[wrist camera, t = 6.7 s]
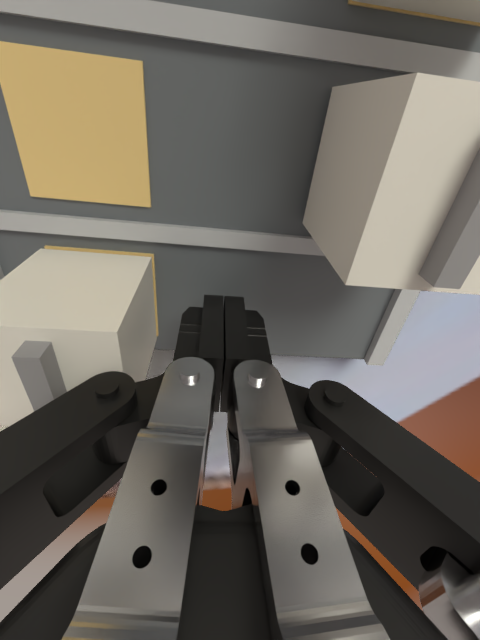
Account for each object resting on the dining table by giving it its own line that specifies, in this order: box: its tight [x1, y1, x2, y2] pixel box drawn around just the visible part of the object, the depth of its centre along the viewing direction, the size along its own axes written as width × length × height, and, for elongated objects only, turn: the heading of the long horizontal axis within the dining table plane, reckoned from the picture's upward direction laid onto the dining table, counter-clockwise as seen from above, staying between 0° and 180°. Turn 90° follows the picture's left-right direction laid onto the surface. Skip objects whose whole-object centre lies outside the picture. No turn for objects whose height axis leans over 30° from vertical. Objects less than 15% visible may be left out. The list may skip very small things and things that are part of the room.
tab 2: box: [303, 73, 480, 295], centre depth 8 cm, size 4×4×5 cm
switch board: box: [0, 0, 480, 365], centre depth 10 cm, size 16×17×2 cm
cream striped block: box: [0, 248, 157, 426], centre depth 10 cm, size 4×4×5 cm
